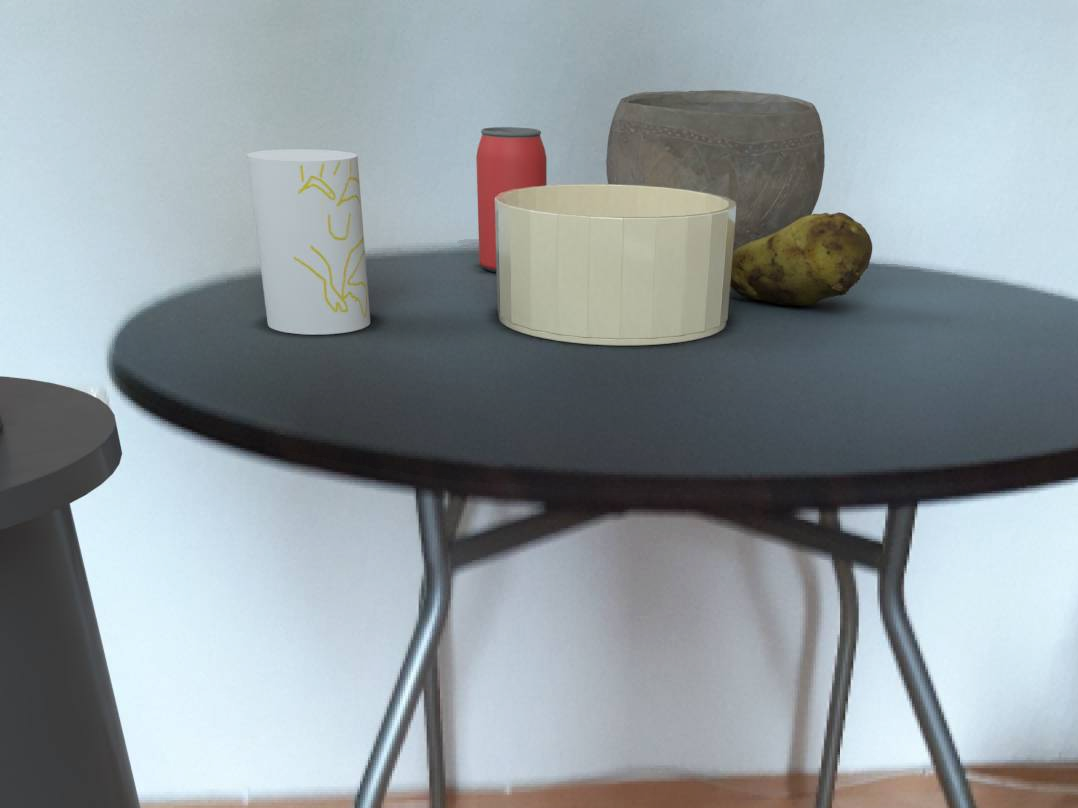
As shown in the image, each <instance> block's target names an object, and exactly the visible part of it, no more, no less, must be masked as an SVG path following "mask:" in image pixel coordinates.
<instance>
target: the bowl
mask: <svg viewBox="0 0 1078 808" xmlns="http://www.w3.org/2000/svg"><path fill="white" fill-rule="evenodd" d="M823 129H824V128H823V125H822V119H821V116H820V113H819V112H818V109H817V108H816V106H815V105H814V103H812V102H810V101H808V100H804V99H800V98H797V97H792V96H788V95H784V94H779V93H770V92H769V93H766V92H756V91H745V90H724V89H723V90H720V89H717V90H716V89H713V90H712V89H710V90H709V89H708V90H688V91H685V90H683V91H682V90H668V91H667V90H666V91H642V92H638V93H633V94H630V95H627V96H625V97H622V98H620V100H619V102H618V104H617V106H616V109H615V110H614V114H613V117H612V120H611V124H610V127H609V132H608V137H607V146H606V147H607V148H606V159H605V165H606V178H607V184H623V185H644V186H658V187H670V188H679V189H688V190H694V191H700V192H706V193H711V194H716V195H719V196H723V197H727V198H729V199H731V200H733V201H735V202H736V218H735V230H734V243H733V252H734V251H735V250H736V249H737V248H739V247H741V246H743V245H745V244H747V243H749V242H752V241H754V240H757V239H761V238H763V237H766V236H767V235H771V234H773V233H775V232H777V231H779V230H781V229H783V228H785V227H786V226H788V225H790V224H792V223H793V222H794V221H796V220H798V219H800V218H802V217H805V216H808V215H813V213H814V211H815V208H816V206H817V203H818V201H819V198H820V195H821V191H822V187H823V180H824V173H825V164H826V163H825V159H826V158H825V157H826V154H825V138H824V137H825V136H824V131H823Z"/></svg>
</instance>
